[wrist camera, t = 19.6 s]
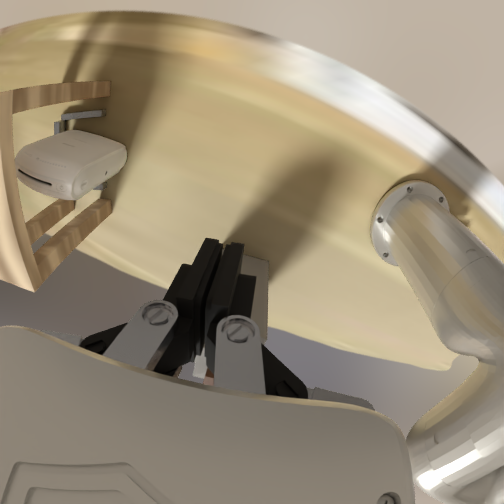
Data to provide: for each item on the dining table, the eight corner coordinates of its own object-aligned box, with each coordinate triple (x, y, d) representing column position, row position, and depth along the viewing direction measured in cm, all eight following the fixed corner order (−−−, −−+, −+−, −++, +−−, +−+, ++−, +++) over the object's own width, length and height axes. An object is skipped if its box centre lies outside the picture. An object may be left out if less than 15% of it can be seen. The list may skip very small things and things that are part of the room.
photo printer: (132, 143, 29) (71, 173, 19) (124, 174, 31) (67, 215, 21) (72, 125, 27) (5, 148, 17) (66, 153, 29) (4, 185, 19)
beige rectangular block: (209, 286, 40) (181, 394, 24) (219, 248, 36) (187, 360, 21) (254, 297, 40) (245, 408, 25) (268, 261, 37) (266, 378, 21)
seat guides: (105, 109, 27) (99, 110, 25) (106, 187, 32) (101, 191, 31) (61, 114, 26) (54, 116, 25) (64, 185, 32) (58, 188, 31)
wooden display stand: (110, 81, 25) (-1, 92, 10) (111, 212, 34) (34, 292, 19) (59, 89, 24) (-43, 113, 10) (65, 207, 34) (-12, 274, 19)
